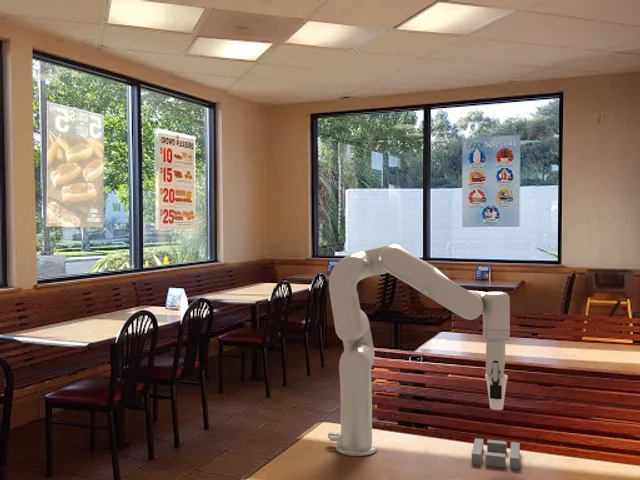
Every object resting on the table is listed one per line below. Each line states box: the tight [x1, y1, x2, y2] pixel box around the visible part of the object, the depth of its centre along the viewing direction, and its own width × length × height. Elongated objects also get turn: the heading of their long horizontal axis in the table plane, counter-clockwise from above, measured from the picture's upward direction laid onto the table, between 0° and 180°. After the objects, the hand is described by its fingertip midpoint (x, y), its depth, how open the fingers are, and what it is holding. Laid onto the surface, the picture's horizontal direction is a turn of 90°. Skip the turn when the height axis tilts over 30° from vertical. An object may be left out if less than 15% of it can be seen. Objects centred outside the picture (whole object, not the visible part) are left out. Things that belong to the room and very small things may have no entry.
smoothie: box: [484, 372, 509, 411], centre depth 181 cm, size 6×6×14 cm
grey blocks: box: [471, 437, 521, 470], centre depth 182 cm, size 13×13×3 cm
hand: (496, 394), depth 181 cm, fingers closed on smoothie, 6 cm apart
